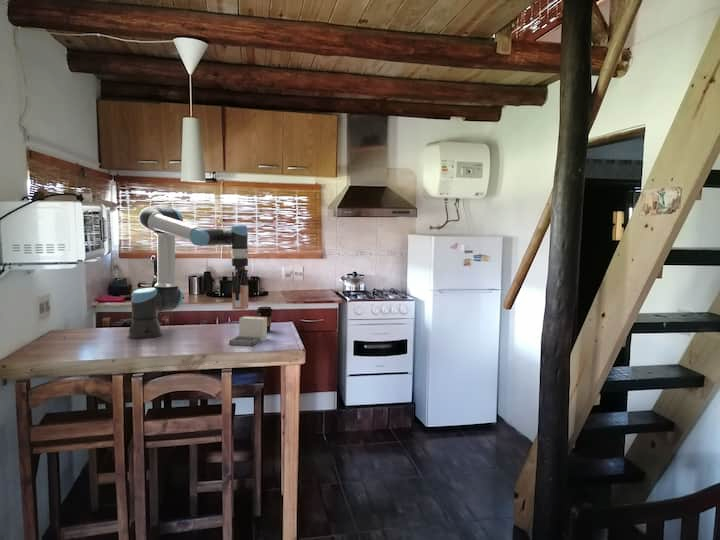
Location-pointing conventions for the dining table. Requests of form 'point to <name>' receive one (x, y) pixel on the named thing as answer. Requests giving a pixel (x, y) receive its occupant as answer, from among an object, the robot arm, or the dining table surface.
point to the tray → (244, 341)
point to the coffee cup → (265, 315)
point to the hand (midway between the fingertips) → (240, 305)
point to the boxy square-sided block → (253, 327)
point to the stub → (243, 298)
